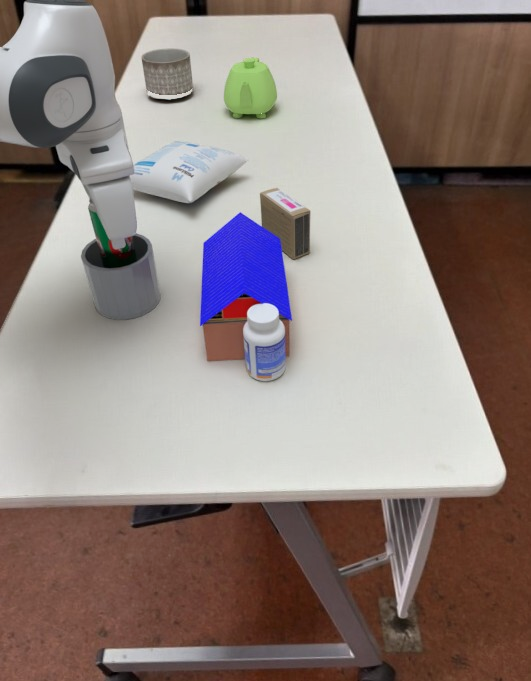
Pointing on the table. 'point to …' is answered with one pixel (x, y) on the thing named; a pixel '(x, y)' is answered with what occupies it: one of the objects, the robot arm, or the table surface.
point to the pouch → (184, 170)
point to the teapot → (250, 89)
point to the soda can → (107, 252)
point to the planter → (167, 71)
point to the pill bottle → (264, 342)
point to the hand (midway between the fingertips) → (113, 235)
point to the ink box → (286, 221)
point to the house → (240, 284)
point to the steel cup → (123, 282)
